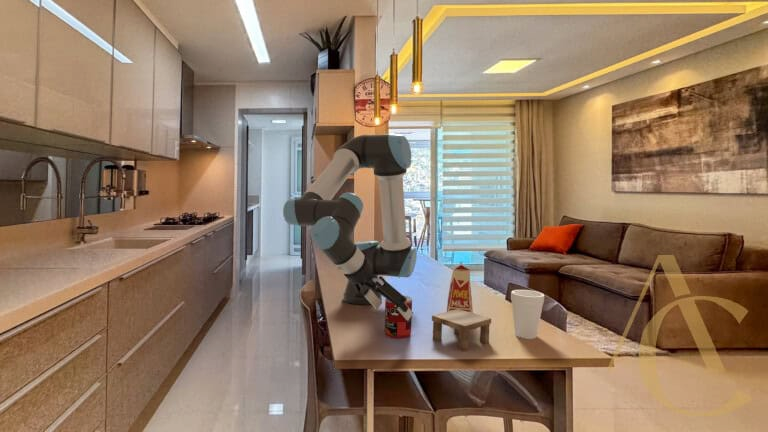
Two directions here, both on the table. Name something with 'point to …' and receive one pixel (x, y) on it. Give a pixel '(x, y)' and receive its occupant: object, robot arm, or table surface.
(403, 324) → the canned food
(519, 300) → the foam cup
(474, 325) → the stool
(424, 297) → the table surface
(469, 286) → the milk carton
